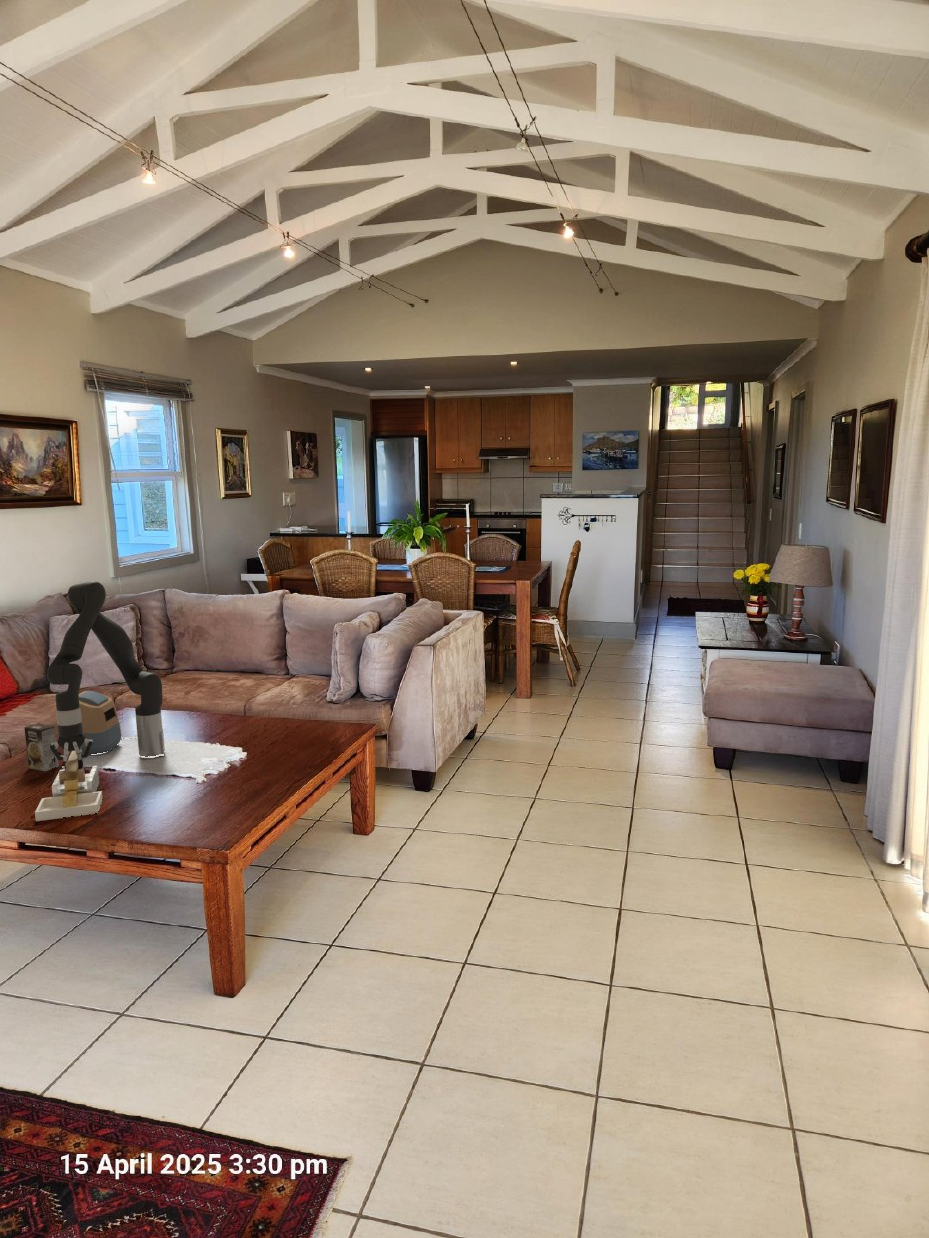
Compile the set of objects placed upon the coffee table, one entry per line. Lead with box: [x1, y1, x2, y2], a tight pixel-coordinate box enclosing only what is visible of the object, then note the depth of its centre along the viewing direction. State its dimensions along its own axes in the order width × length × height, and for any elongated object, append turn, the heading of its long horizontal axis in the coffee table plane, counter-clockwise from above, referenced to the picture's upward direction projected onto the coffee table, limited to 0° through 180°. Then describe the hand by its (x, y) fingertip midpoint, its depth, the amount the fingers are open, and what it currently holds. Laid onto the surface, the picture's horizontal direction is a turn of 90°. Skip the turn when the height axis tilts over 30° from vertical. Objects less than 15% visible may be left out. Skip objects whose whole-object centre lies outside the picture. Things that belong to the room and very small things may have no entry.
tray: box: [34, 790, 104, 822], centre depth 258 cm, size 18×12×3 cm, turn 108°
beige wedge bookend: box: [58, 750, 86, 785], centre depth 273 cm, size 8×14×7 cm, turn 17°
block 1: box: [64, 776, 80, 792], centre depth 265 cm, size 4×4×4 cm
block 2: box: [62, 791, 78, 808], centre depth 261 cm, size 4×4×4 cm
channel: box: [51, 765, 100, 797], centre depth 272 cm, size 12×16×6 cm
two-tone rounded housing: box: [69, 690, 122, 756], centre depth 316 cm, size 17×17×23 cm
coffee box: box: [23, 722, 60, 772], centre depth 298 cm, size 9×6×16 cm
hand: (74, 769), depth 272 cm, fingers closed on beige wedge bookend, 3 cm apart
